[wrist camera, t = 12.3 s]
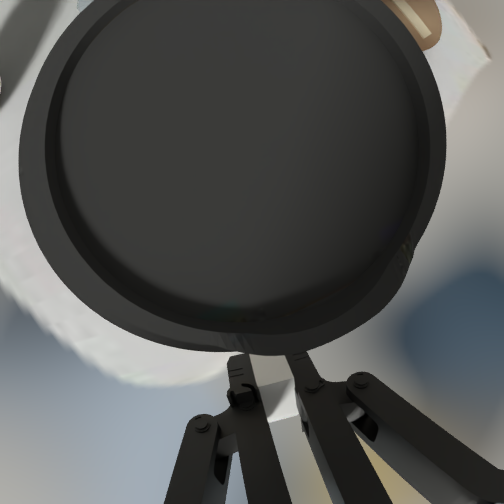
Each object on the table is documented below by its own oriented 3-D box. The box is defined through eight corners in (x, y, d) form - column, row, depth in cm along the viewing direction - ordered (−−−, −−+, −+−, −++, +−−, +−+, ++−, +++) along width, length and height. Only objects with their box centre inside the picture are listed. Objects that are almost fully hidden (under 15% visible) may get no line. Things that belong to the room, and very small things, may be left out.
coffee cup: (127, 127, 15) (-55, 60, 1) (254, 72, 15) (369, -90, 1) (183, 247, 18) (140, 455, 4) (305, 193, 18) (505, 272, 4)
